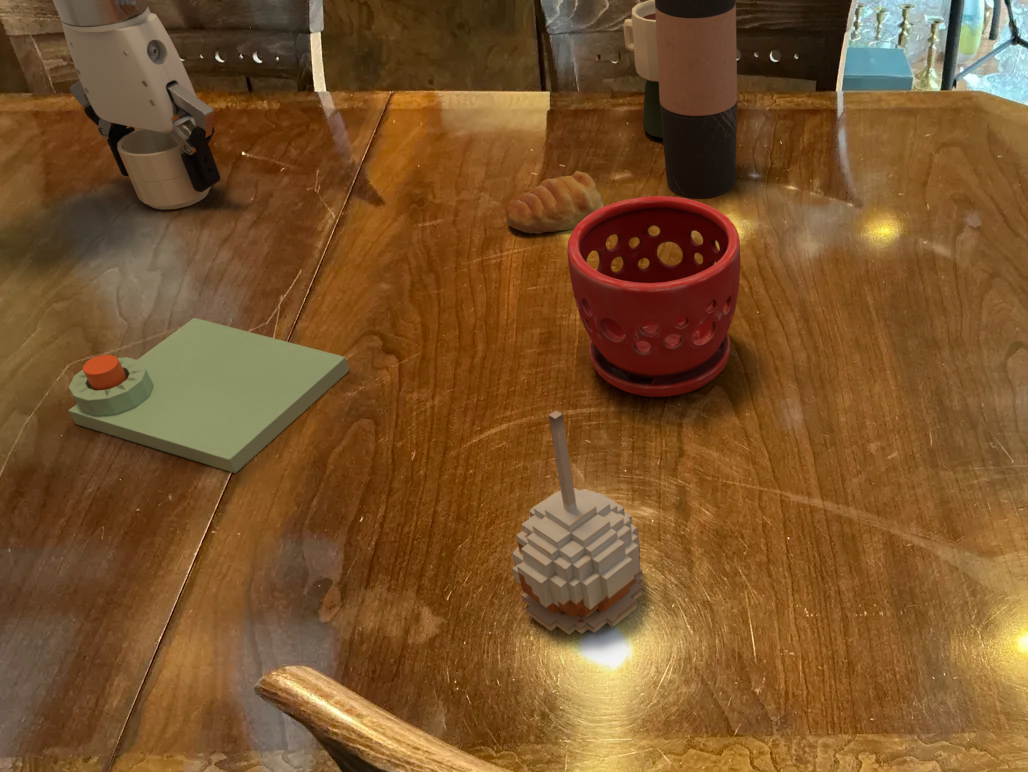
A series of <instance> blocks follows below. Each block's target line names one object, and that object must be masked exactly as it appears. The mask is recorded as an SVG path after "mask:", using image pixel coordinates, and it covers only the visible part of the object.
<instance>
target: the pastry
mask: <svg viewBox="0 0 1028 772" xmlns="http://www.w3.org/2000/svg"><path fill="white" fill-rule="evenodd" d="M602 207H605V206H604V202H603V199H602V196H601V194H600V192H599V191H598V189H597V185H596V183H595V181H594V180H593V177H591V176H590V175H589V174H588V172H585V171H584V172H582V171H579V170H576V171H574V173H572V175H565V176H562V175H561V176H557V177H554V178H546V179H544V180H542V181H541V182H540V183H539V184H538V185H537V186H535V187H534V188H533V189H531V190H530V191H525V192H523V193H522V194H521V195H519V196H518V197H517V198H515V199H514V200H513V201H512V202H511V203H508V206H507V208H506V215H505V217H506V219H505V222H506V223H507V225H508V226H509V227H511V228H513V229H515V230H518V231H520V232H522V233H528V234H530V235H533V234H537V235H541V234H543V233H556V232H561V231H569V230H574V228H575V227H576V226H577V224H578V223H579V222H580V221H581V220H583V219H584V218H585V217H586V216H588V215H589V214H591V213H593V212H594V211H596V210H598V209H600V208H602Z"/></svg>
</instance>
